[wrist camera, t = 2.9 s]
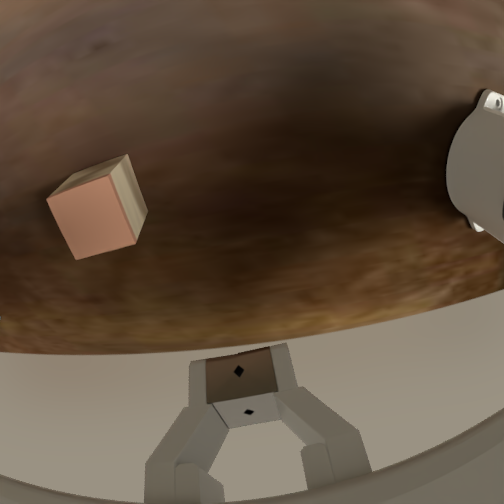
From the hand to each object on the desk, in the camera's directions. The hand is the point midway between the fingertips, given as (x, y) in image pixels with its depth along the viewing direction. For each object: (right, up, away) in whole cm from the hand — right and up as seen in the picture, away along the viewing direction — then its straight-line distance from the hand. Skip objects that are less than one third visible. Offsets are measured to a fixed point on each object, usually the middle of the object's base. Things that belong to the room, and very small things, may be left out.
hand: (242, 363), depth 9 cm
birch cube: (-13, +9, +18) cm, 24 cm away
